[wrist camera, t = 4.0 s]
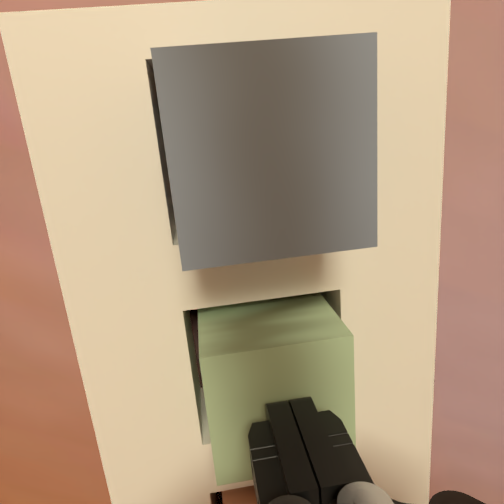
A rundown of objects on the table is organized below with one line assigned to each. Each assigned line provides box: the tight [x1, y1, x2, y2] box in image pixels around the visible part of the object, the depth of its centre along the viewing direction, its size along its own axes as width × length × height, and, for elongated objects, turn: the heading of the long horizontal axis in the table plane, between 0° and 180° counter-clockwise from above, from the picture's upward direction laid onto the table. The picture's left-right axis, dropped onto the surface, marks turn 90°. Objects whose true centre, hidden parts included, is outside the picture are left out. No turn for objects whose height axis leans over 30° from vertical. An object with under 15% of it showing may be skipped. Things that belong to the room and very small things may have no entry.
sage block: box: [198, 292, 356, 486], centre depth 17 cm, size 5×5×6 cm
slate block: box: [150, 32, 377, 271], centre depth 13 cm, size 5×5×6 cm
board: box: [0, 0, 451, 504], centre depth 18 cm, size 14×26×4 cm, turn 5°
